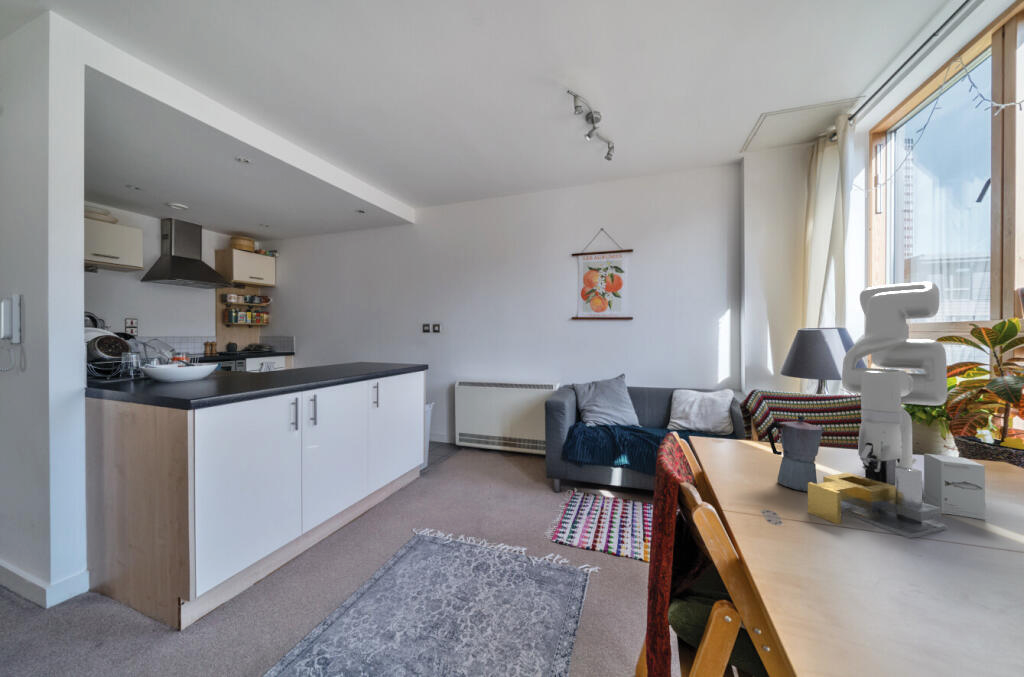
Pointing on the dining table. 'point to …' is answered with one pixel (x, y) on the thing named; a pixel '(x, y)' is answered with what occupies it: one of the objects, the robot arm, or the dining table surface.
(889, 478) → the wedge pin
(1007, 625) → the dining table surface
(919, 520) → the stepped holder fixture
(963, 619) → the dining table surface
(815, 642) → the dining table surface
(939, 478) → the supplement box
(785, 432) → the moka pot
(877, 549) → the dining table surface
